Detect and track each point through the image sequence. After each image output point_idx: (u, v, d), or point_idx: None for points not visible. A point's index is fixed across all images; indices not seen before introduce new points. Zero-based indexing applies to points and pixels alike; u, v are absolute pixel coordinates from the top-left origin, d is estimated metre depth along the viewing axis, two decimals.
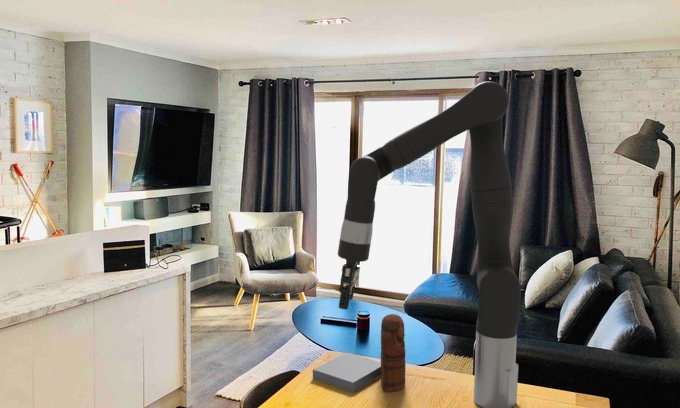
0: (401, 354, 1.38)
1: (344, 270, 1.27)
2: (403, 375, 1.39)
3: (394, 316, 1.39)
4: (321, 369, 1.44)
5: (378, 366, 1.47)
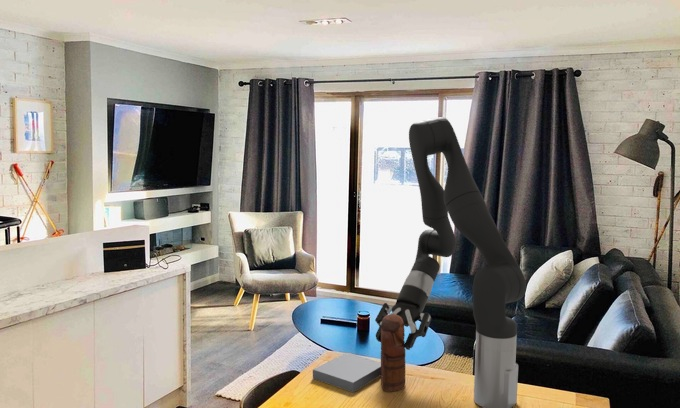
0: (401, 354, 1.38)
1: None
2: (403, 375, 1.39)
3: (394, 316, 1.39)
4: (321, 369, 1.44)
5: (378, 366, 1.47)
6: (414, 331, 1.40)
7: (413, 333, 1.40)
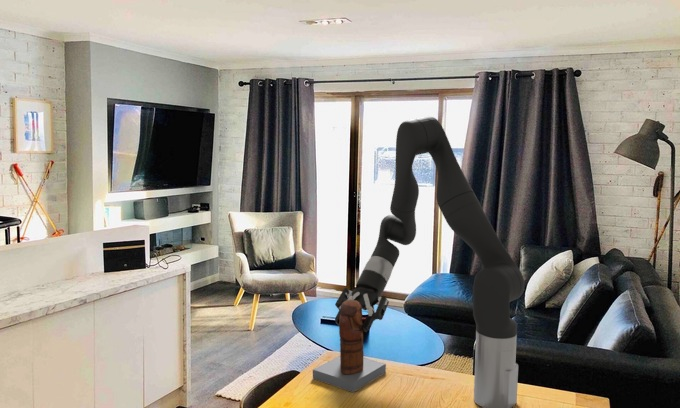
0: (358, 338, 1.41)
1: None
2: (360, 359, 1.43)
3: (352, 301, 1.43)
4: (321, 369, 1.44)
5: (378, 366, 1.47)
6: (371, 314, 1.44)
7: (370, 316, 1.44)
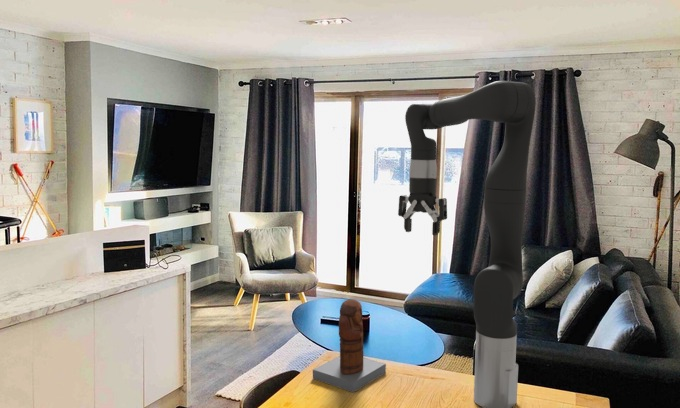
0: (358, 338, 1.41)
1: None
2: (360, 359, 1.43)
3: (352, 301, 1.43)
4: (321, 369, 1.44)
5: (378, 366, 1.47)
6: (436, 220, 1.52)
7: (436, 221, 1.52)
